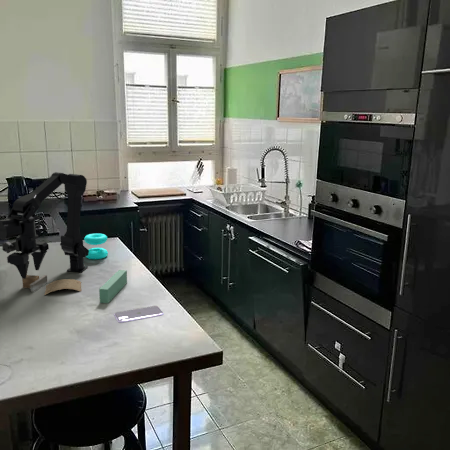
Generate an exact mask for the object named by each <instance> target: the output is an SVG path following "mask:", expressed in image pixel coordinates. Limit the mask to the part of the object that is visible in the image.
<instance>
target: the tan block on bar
mask: <svg viewBox="0 0 450 450" xmlns="http://www.w3.org/2000/svg"><path fill="white" fill-rule="evenodd" d="M21 279H22V280H21V281H22V288H23V289H30V293H35V292H37V291H38V290H40V289H41V288H43V286H46V285H47V284H49V283H48V275H47V274H44V275H42V276H41V277H40V275H32V274H27V275H26V278H25V279H23V278H22V277H21Z"/></svg>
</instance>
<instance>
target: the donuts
mask: <svg viewBox="0 0 450 450" xmlns="http://www.w3.org/2000/svg"><path fill="white" fill-rule="evenodd" d="M107 241H108V236H107V235H106V234H104V233H99V232H98V233H97V232H96V233H89V234H86V235H85V237H84V238H83V242H84V243H86V244H87V245H89V246H90V245H92V246H97V245H98V246H99V245H102V244H105V243H106V242H107ZM88 250H89V253H88V256H86V257H85V258H86V259H89V260H101V259H105V258H107V256H108V254H109V252H108V250H107V249H106V248H104V247H92V248H89V249H88Z"/></svg>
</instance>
